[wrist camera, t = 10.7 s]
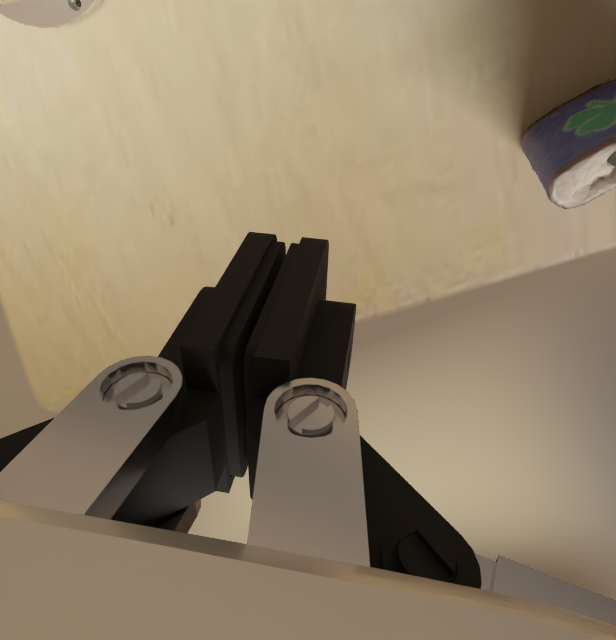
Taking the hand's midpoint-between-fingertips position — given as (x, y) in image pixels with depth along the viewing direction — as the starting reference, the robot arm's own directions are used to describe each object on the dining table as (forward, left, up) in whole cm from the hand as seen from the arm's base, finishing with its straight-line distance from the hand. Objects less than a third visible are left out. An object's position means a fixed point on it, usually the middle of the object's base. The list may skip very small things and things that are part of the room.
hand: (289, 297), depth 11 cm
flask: (+14, -1, -27) cm, 31 cm away
